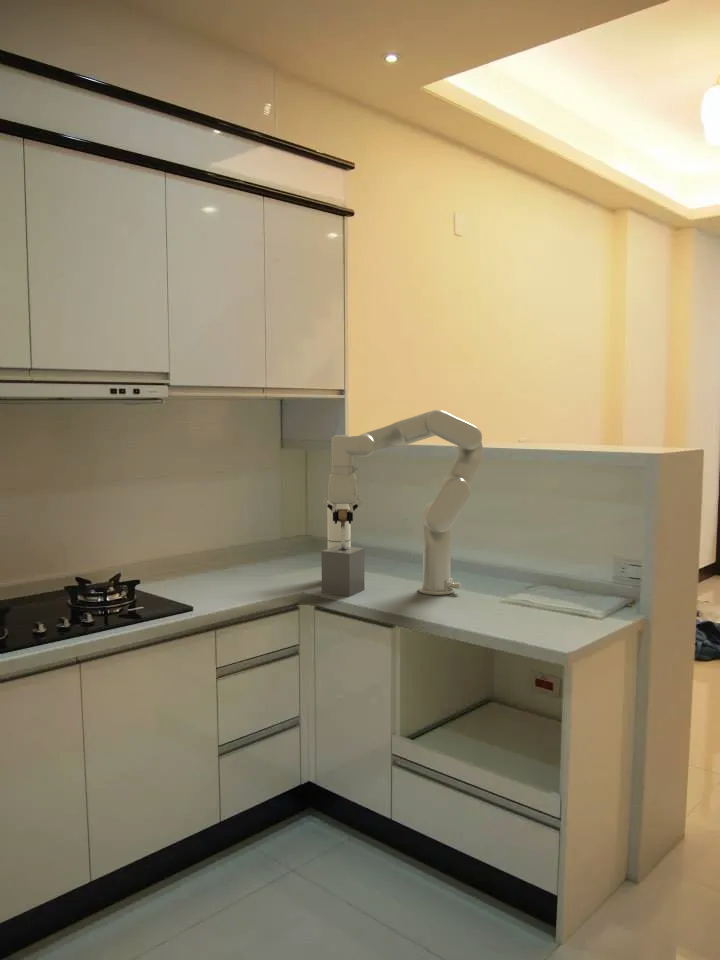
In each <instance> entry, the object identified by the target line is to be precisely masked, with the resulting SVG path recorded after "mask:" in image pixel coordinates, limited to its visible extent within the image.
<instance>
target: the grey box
mask: <svg viewBox="0 0 720 960" xmlns="http://www.w3.org/2000/svg"><path fill="white" fill-rule="evenodd" d="M320 552H321V553H320V554H321V594H327V595H335V596H342V597H343V596H344V597H349V598H350V597H351V596H354V595H356V594H358V593H360V592H362V591H364V590H365V548H364V547H354V546H351V547H345V551H341V546H335V547H332V548H329V549H328V548H326V549H323V550H321V551H320Z"/></svg>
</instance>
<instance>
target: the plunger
mask: <svg viewBox="0 0 720 960" xmlns="http://www.w3.org/2000/svg"><path fill="white" fill-rule="evenodd" d="M337 521H339V522H341V551H345V522H346V521H349V509H337Z"/></svg>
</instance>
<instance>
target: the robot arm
mask: <svg viewBox="0 0 720 960" xmlns="http://www.w3.org/2000/svg"><path fill="white" fill-rule="evenodd" d="M435 436H437V437H439V438H440V439H441V440H444V441H446V442H449V443H451V444H453V445H455V446H457V447H458V454H457V456H456V458H455V460H454V462H453V463H452V466H451V467H450V468H449V470H448V471H447V474H446V475H445V476H444V478H443V479H442V480H441V482H440V485H439V492H438V494H437V496H436V497H435V498H434V500H433V501H431V502H428V503H427V504H426V505H425V507H424V508H423V512H422V585H419V586H418V591H419V593H421V594H425V595H433V596H434V595H435V596H442V595H444V596H445V595H449V594H450V595H451V594H452V593H455V590H461V589H462V583H461V582H458V581H456V582H455V581H454V577H451V541H452V540H451V539H452V537H451V535H452V534H451V528H452V527H453V525H454V523H456V520H457V519H458V518H459V515H460V514H461V512H462V511H463V509H464V507H465V506H466V503H468V500H469V499H470V494H471V486H470V485H471V483H473V480H474V479H475V476H476V474H477V473H478V472H479V469H480V467H481V464H482V462H483V458H484V447H483V442H482V441H483V434H482V430H480V428H478V426H476V425H473V424H471V423H469V422H467V421H465V420H463V419H461V418H458V417H456V416H454V415H452V414H451V413H450V412H449V413H448V412H447V411H444V410H442V409H433V410H431V411H428V412H427V411H426V412H424V413H420V414H418V415H414V416H412V417H408V418H405V419H401V420H399V421H396V422H394V423H392V424H389V425H386V426H384V427H380V428H376V429H373V430H371V431H367V432H364V433H362V434H359V435H349V434H336V435H333V436H332V437H331V474H329V478H328V487H327V489H328V490H327V495H326V497H324V499H323V501H322V504H323V506H325V507H328V508H329V509H330V510H331V511H332V512H333V521H335V524H336V523H337V511H336V506H337V504H349V508H350V510H349V524H350V525H351V523H352V522H354V512H355V510H356V509H358V507H360V506H362V505H363V503H364V501H363V499H361V497H360V495H359V494H358V482H357V481H358V480H357V476H356V475H357V474H355V472H358V471H359V470H358V467H357V466H354V456H355V457H357V456H358V457H361V458H362V457H369V456H371V455H372V454H373V453H376V452H379V451H383V450H385V449H389V448H393V447H397V446H398V447H400V446H401V447H402V446H407V445H410V444H413V443H417V442H419V441H423V440H426V439H428V438H433V437H435ZM327 501H329V502H330V503H332V504H333V506H332V505H331V504H329V503H328V502H327Z"/></svg>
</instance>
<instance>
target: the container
mask: <svg viewBox="0 0 720 960" xmlns="http://www.w3.org/2000/svg"><path fill="white" fill-rule="evenodd" d="M327 502H328V503H329V504H331V505H332V506H333V504H332V503H330V502H329V501H327ZM326 507H327V506H326ZM326 509H327V510H326V514H327V517H326V518H327V519H326V520H327V521H326V522H327V523H326V524H327V529H326V530H327V549H329V548H332V547H335V546H341V522H339V521H337V523H336V524H335V521H333V512H332V511H331V510H330V509H329V508H328V507H327V508H326ZM337 509H349V510H350V508H349V504H337V506H336V511H337ZM345 547H352V545H351V524H349V521H346V522H345Z"/></svg>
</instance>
